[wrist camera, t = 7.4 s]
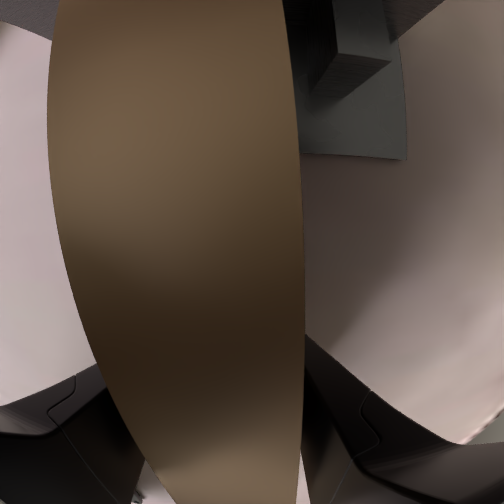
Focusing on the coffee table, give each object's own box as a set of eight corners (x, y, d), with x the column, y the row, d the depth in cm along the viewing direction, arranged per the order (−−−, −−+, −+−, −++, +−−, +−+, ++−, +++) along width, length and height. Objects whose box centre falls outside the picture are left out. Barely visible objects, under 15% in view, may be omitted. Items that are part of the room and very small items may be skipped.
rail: (288, 419, 11) (293, 520, 6) (206, 420, 11) (186, 517, 6) (267, 39, 7) (268, -70, 2) (153, 55, 7) (64, -17, 2)
